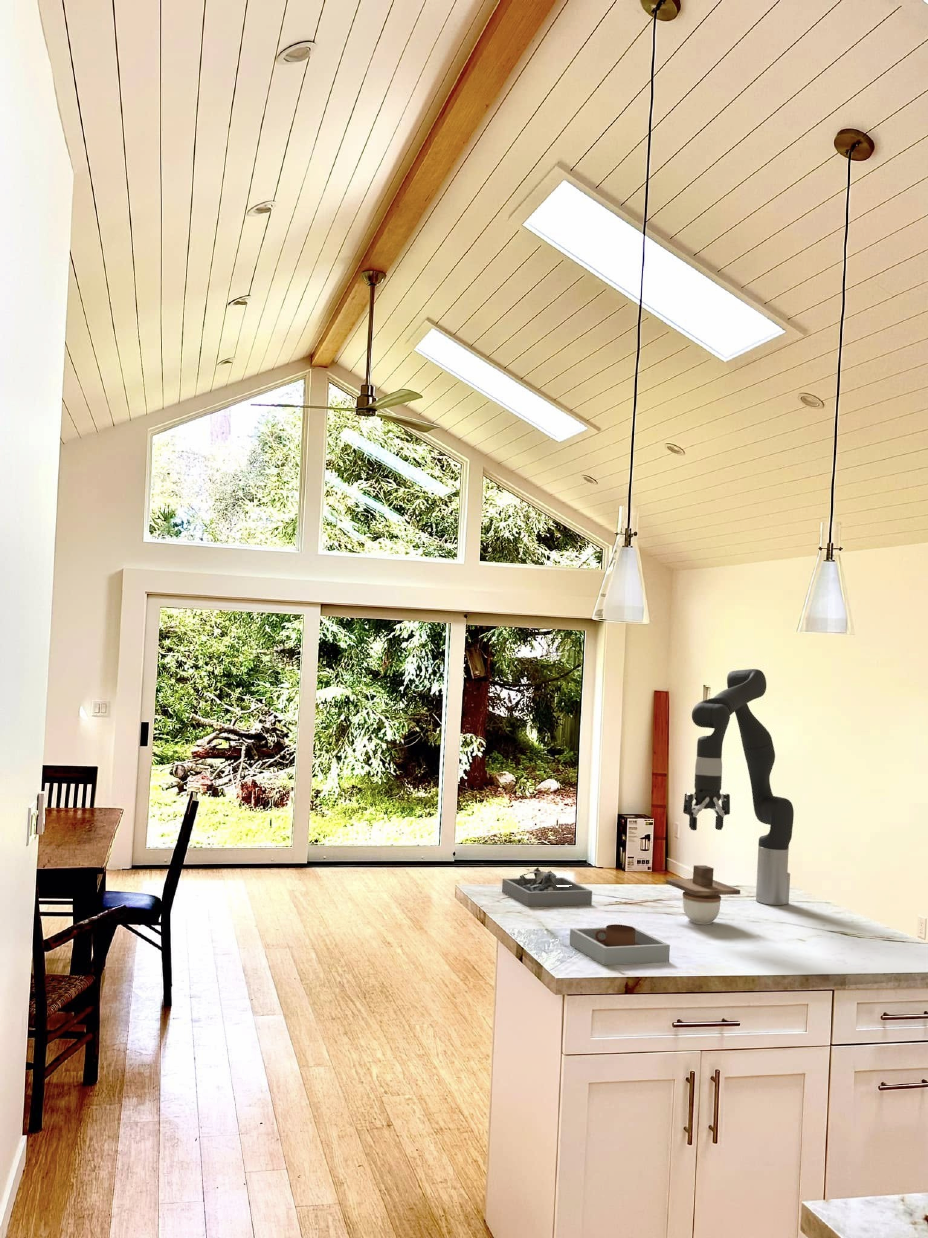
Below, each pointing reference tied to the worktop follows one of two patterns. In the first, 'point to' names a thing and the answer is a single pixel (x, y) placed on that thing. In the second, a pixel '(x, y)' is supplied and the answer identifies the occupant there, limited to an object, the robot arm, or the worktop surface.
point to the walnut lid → (703, 883)
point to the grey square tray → (619, 948)
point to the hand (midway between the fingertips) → (705, 829)
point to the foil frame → (548, 893)
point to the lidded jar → (701, 907)
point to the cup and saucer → (617, 936)
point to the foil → (538, 881)
